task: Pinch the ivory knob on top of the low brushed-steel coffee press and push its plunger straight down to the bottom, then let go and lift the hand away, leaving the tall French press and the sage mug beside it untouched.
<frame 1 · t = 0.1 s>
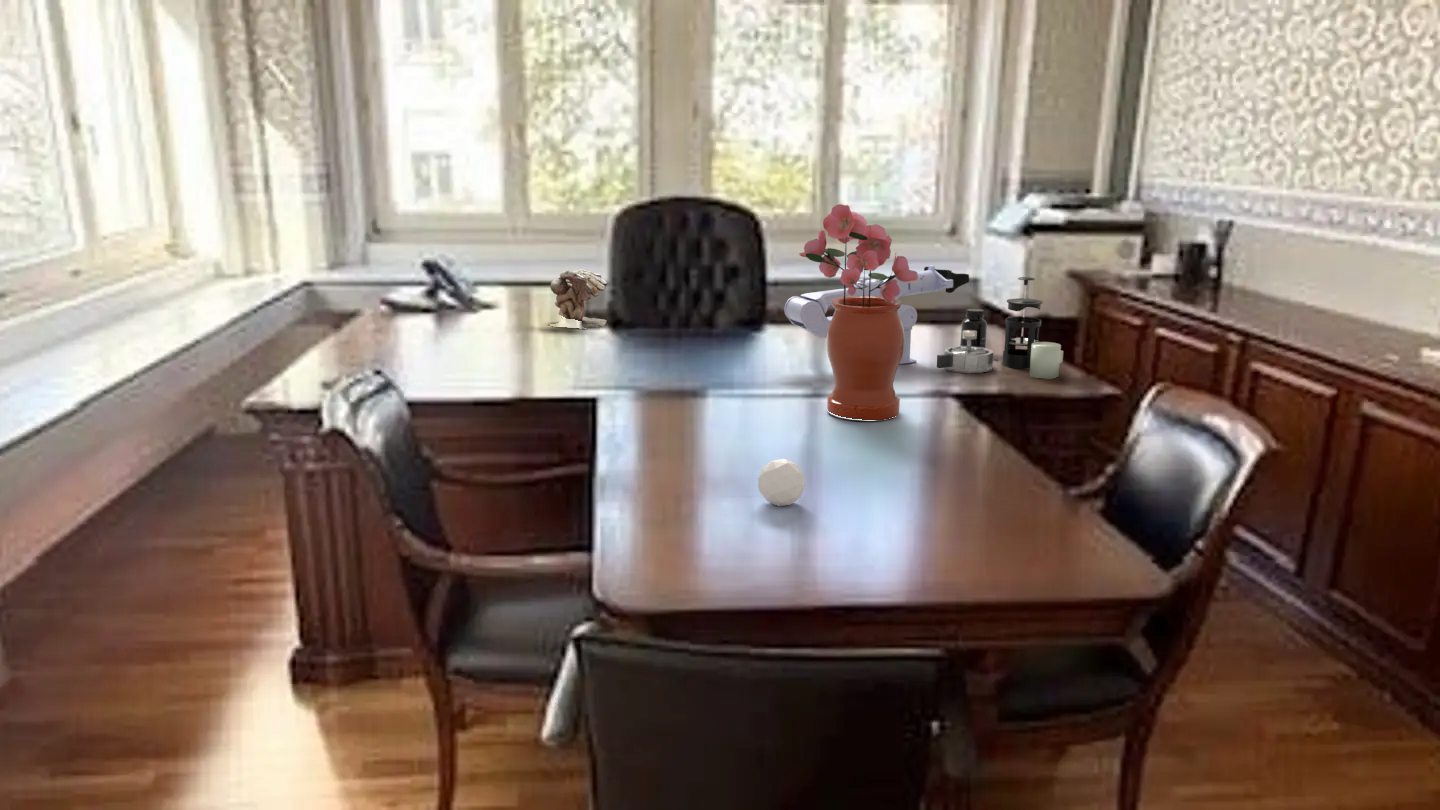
hand: (959, 276, 282), 22 cm above the table, tool horizontal, fingers open, 7 cm apart
cherub figurine: (580, 324, 336), on the table
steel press: (967, 368, 272), on the table
sage mug: (1043, 376, 263), on the table
supplement bottle: (972, 353, 290), on the table
plunger: (969, 342, 270), point 7 cm above the table, slide at 3.0 cm
french press: (1019, 365, 276), on the table
geometric ball: (781, 504, 175), on the table
potted flower: (856, 412, 232), on the table
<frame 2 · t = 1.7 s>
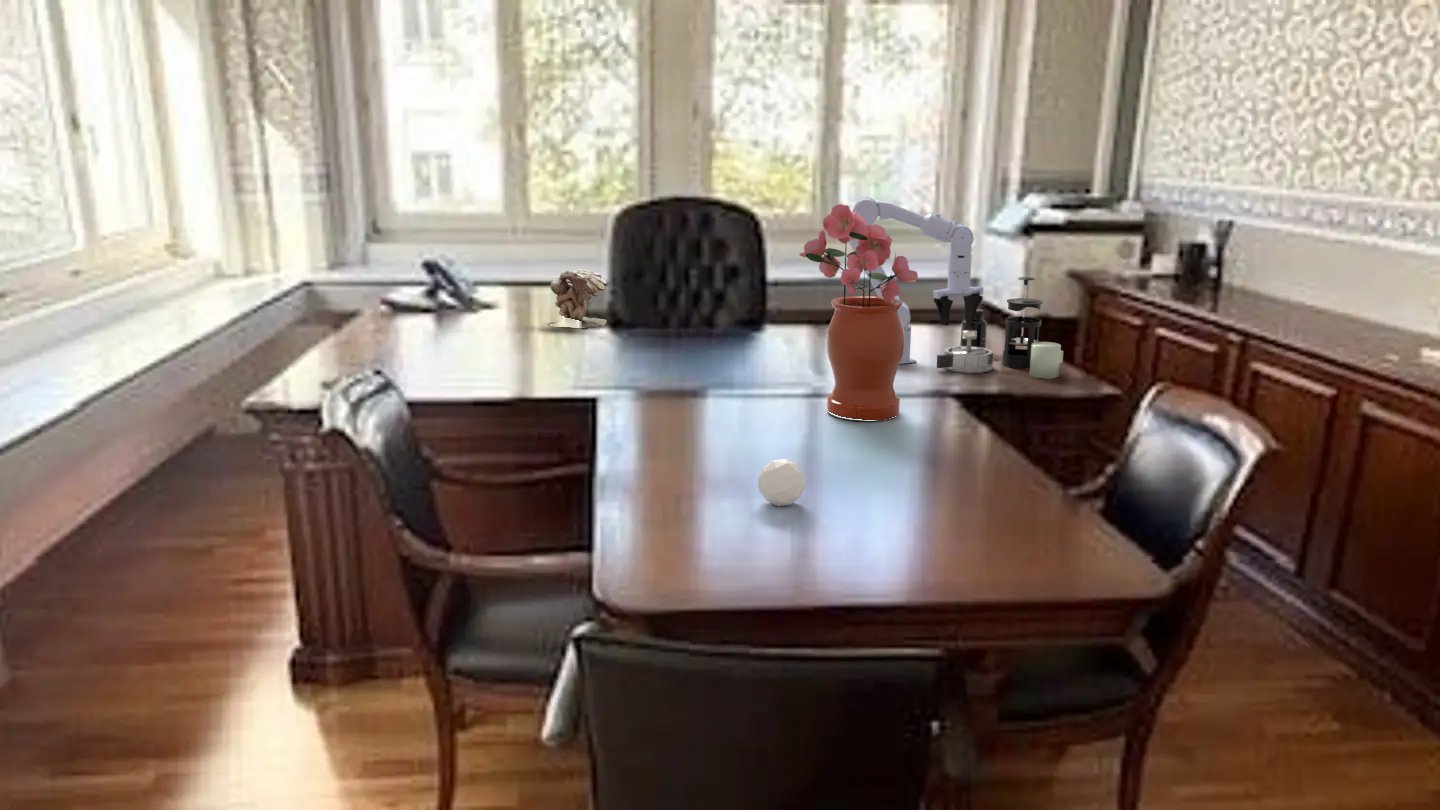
hand: (957, 323, 275), 10 cm above the table, tool pointing down, fingers open, 7 cm apart
nothing on the table moved.
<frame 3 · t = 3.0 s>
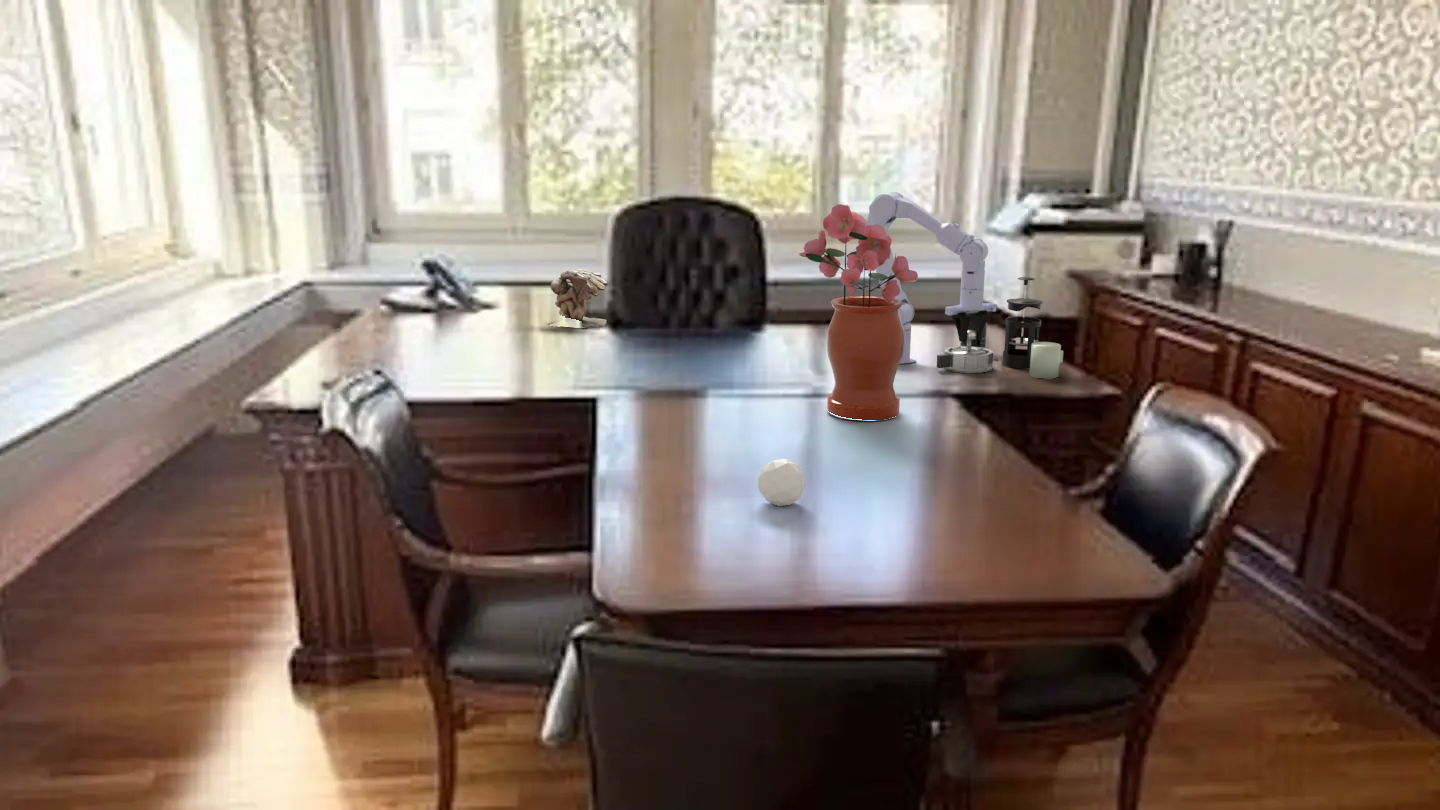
hand: (969, 340, 270), 7 cm above the table, tool pointing down, fingers closed on plunger, 3 cm apart
plunger: (969, 342, 270), point 7 cm above the table, slide at 3.0 cm, touching gripper
everything else where it was.
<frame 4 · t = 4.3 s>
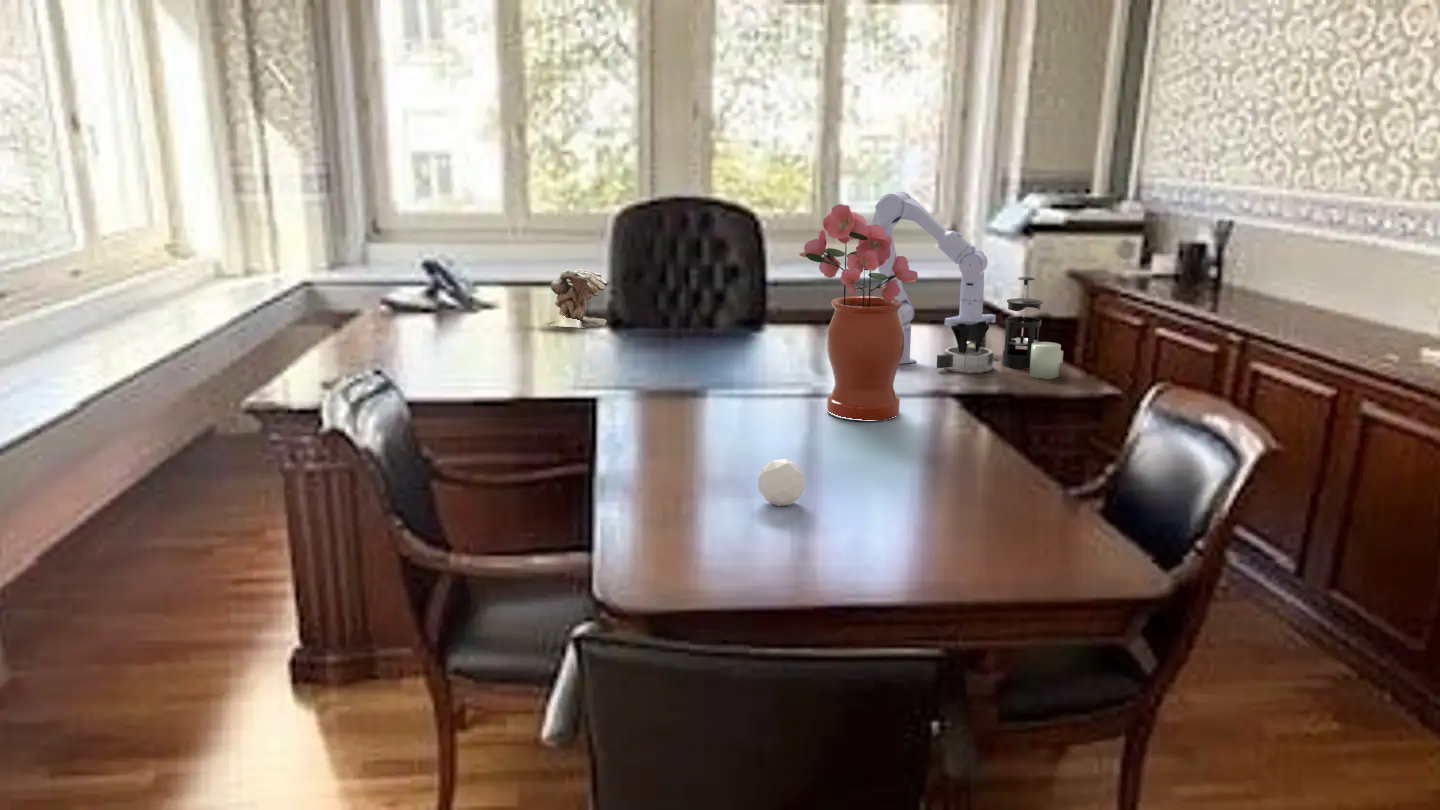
hand: (968, 351, 270), 4 cm above the table, tool pointing down, fingers closed on plunger, 3 cm apart
plunger: (968, 353, 271), point 4 cm above the table, slide at 0.1 cm, touching gripper
everything else where it was.
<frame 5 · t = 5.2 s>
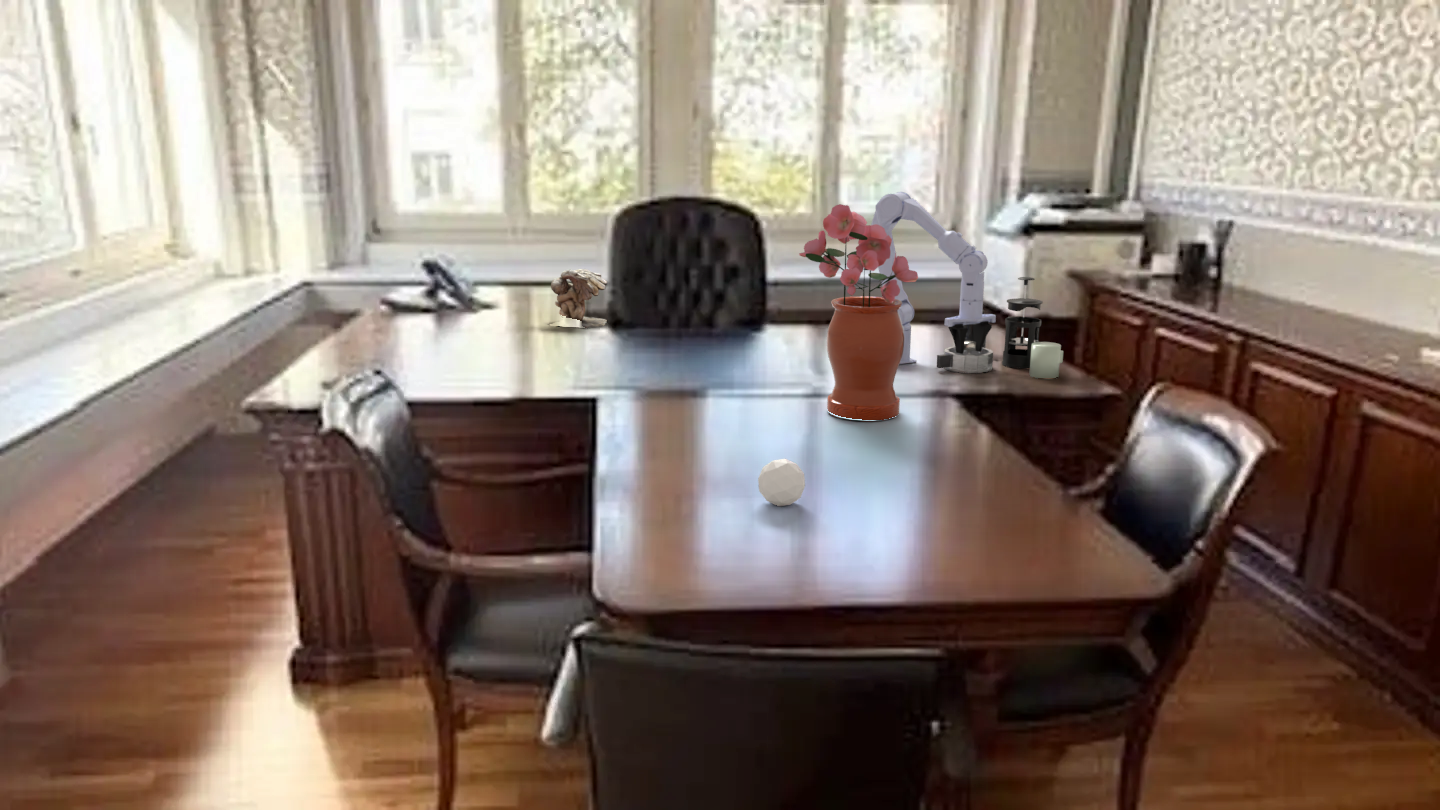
hand: (968, 351, 270), 4 cm above the table, tool pointing down, fingers open, 5 cm apart
plunger: (968, 353, 271), point 4 cm above the table, slide at 0.1 cm
everything else where it was.
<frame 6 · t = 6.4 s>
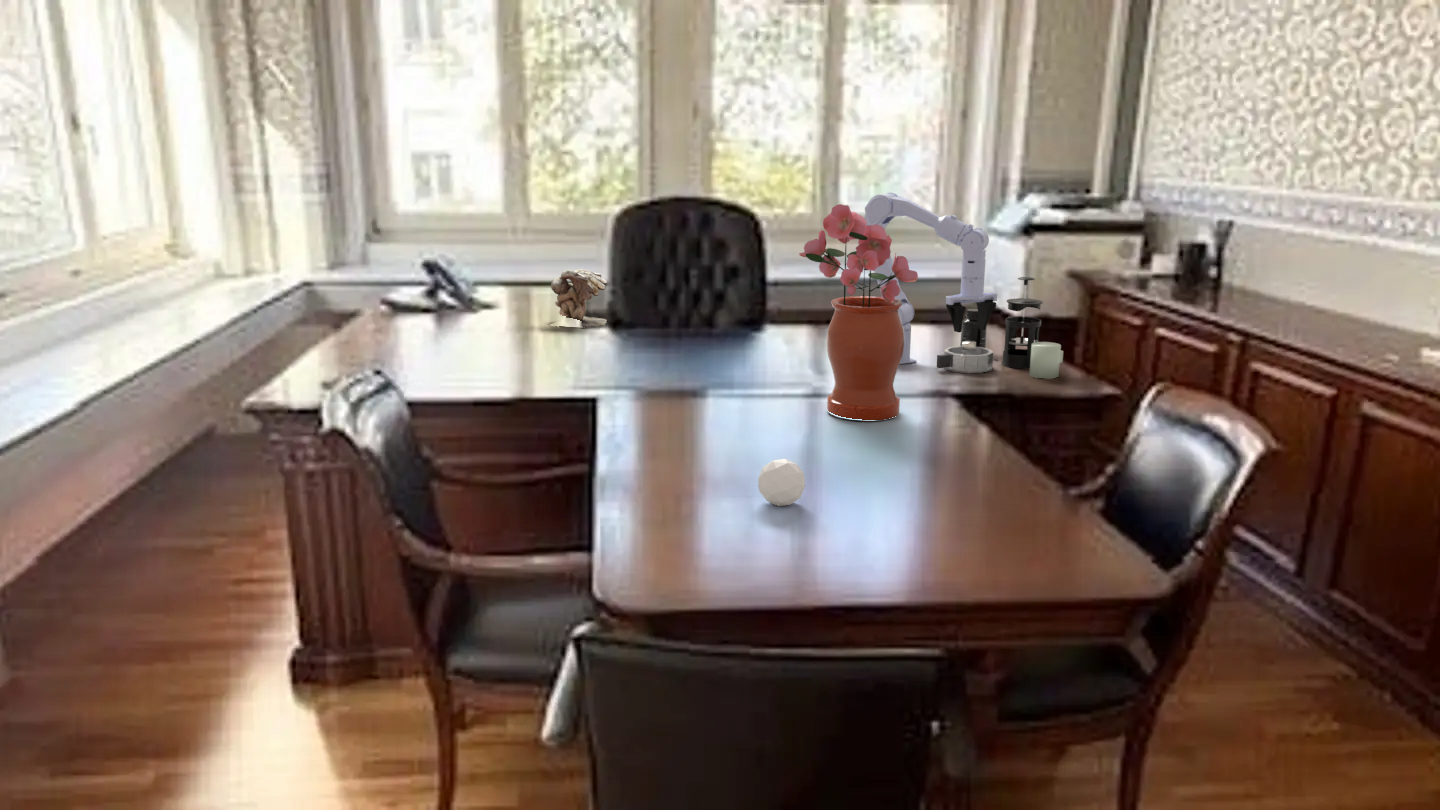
hand: (969, 330, 269), 10 cm above the table, tool pointing down, fingers open, 7 cm apart
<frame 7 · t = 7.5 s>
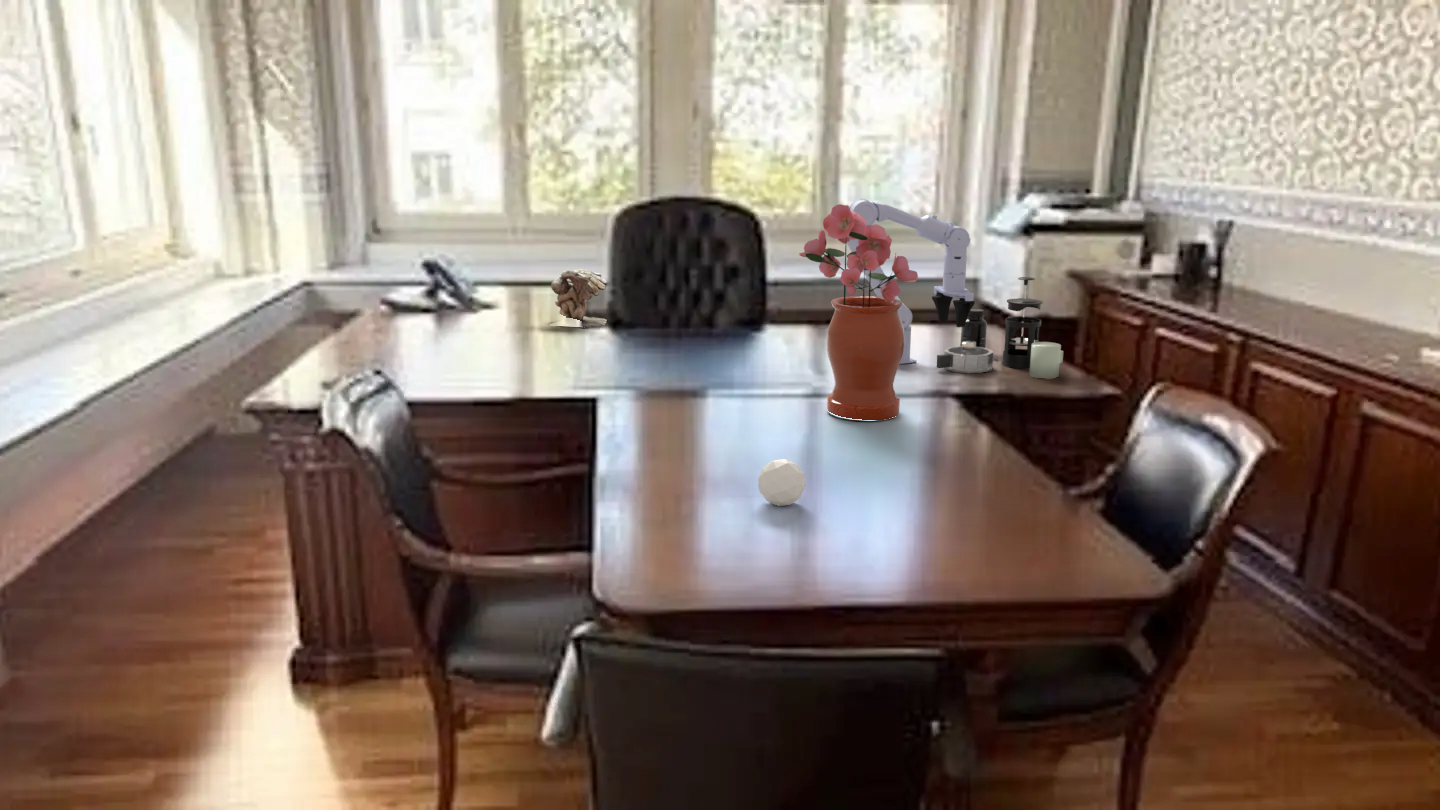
hand: (951, 324, 277), 10 cm above the table, tool pointing down, fingers open, 7 cm apart
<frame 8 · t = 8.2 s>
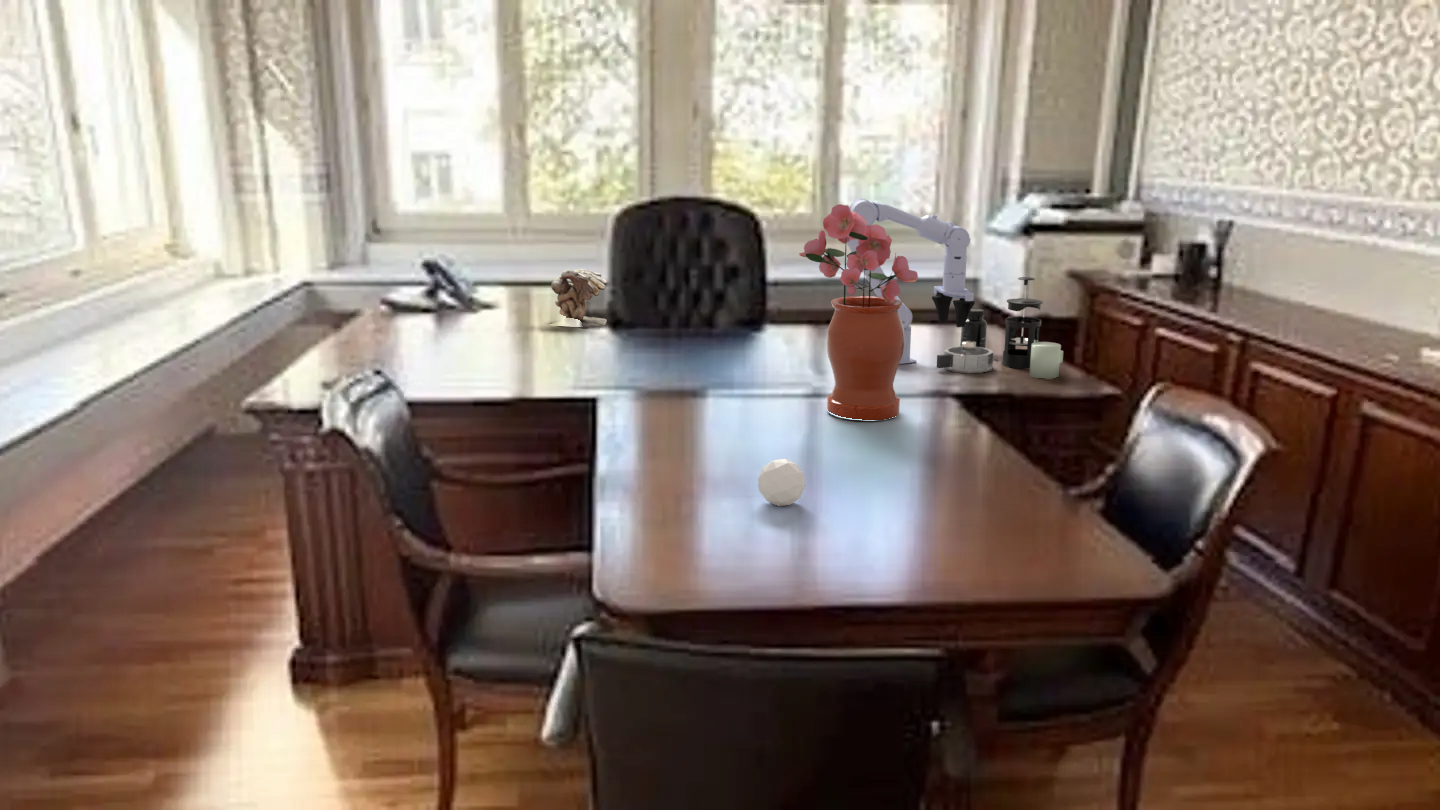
hand: (951, 324, 277), 10 cm above the table, tool pointing down, fingers open, 7 cm apart
at the end: plunger slide at 0.1 cm; the gripper is holding nothing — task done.
